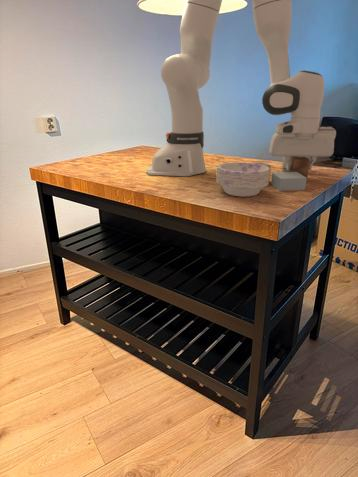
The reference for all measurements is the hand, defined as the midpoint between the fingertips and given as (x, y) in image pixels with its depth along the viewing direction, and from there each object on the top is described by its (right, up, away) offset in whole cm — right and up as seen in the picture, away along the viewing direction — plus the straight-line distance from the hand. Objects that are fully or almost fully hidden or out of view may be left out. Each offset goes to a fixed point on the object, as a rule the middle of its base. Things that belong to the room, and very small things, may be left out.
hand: (298, 169), depth 119 cm
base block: (-6, -7, -8) cm, 12 cm away
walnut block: (0, -2, +1) cm, 2 cm away
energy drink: (+1, +2, +13) cm, 13 cm away
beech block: (-14, -5, -2) cm, 15 cm away
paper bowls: (-22, -10, -13) cm, 27 cm away
